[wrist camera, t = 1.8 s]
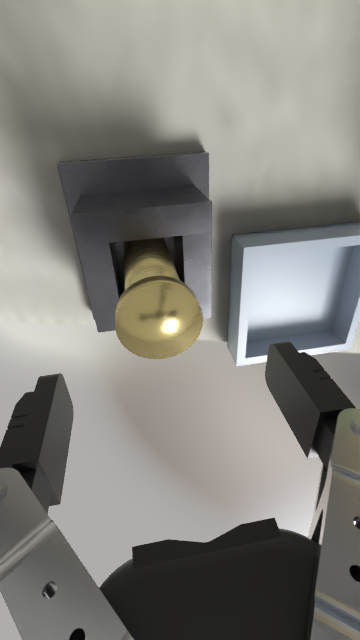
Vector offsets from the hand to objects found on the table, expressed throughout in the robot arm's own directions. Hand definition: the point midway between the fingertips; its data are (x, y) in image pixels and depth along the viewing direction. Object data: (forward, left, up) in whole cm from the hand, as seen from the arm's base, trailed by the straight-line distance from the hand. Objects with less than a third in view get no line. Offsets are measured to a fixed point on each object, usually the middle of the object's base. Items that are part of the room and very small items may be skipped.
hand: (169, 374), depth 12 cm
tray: (+6, +13, -15) cm, 21 cm away
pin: (0, 0, -14) cm, 14 cm away
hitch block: (0, 0, -15) cm, 15 cm away
